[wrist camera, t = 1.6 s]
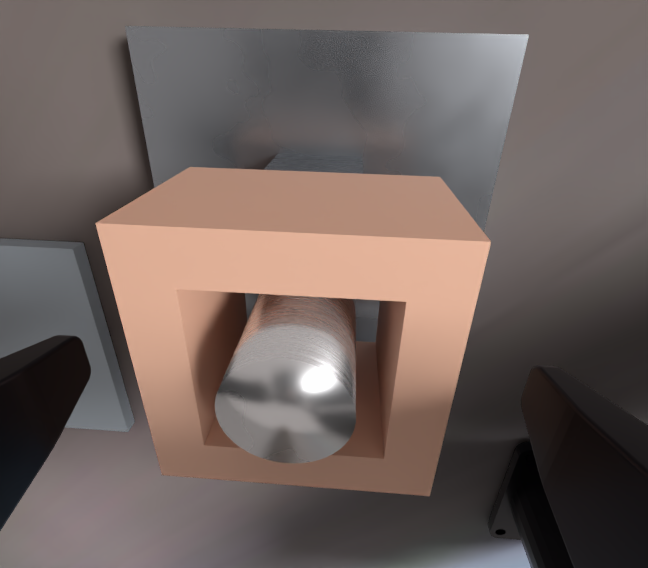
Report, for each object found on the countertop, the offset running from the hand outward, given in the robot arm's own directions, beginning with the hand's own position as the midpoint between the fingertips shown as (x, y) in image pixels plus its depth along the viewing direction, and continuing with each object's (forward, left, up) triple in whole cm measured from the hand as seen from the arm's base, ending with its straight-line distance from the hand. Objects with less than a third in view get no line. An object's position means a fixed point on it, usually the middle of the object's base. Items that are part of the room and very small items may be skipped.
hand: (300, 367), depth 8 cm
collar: (0, 0, -3) cm, 3 cm away
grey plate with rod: (0, 0, -6) cm, 6 cm away
